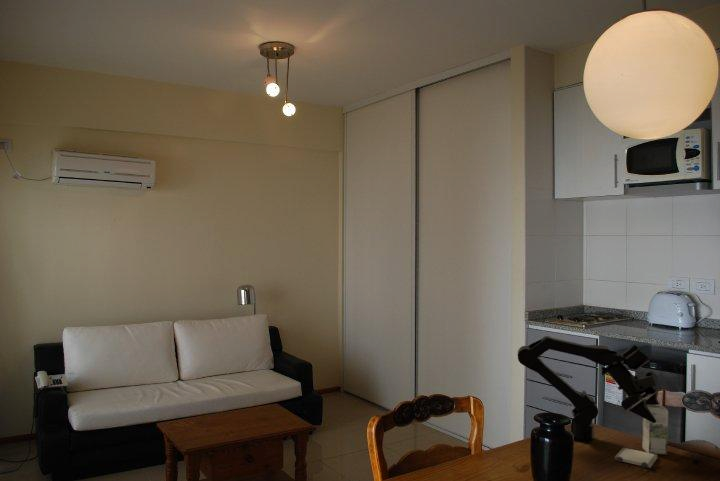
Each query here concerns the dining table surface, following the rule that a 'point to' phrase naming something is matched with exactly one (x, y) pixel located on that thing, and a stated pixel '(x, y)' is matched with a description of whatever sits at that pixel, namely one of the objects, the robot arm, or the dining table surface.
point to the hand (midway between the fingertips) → (659, 419)
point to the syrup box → (656, 431)
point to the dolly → (636, 457)
